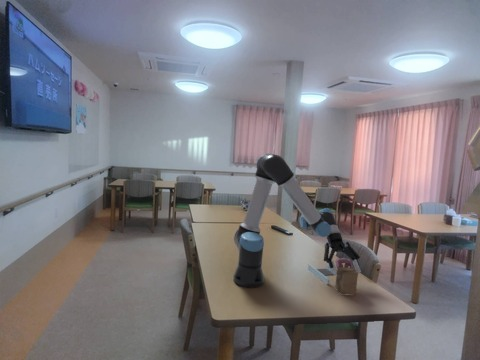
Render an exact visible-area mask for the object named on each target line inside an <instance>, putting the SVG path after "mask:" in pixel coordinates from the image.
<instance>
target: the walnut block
mask: <svg viewBox="0 0 480 360" xmlns="http://www.w3.org/2000/svg"><path fill="white" fill-rule="evenodd" d="M336 269H337V272H338V273H337V276H335V277H336V278H335V287H334V289H335V288H336V289H337V290H338V291H339V292H340V293H341V294H355V295H356V293H357V285H358V276H359V273H357V272H356V270H355V269H354V268H353V269H352V268H350V266H348V267H344V266H343V267H338V268H337V267H336ZM336 289H335V290H336ZM337 290H336V291H337ZM338 291H337V292H338ZM339 292H338V293H339ZM340 293H339V294H340ZM341 294H340V295H341Z"/></svg>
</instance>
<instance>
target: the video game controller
mask: <svg viewBox="0 0 480 360" xmlns="http://www.w3.org/2000/svg"><path fill="white" fill-rule="evenodd" d="M334 263H335V267H336V269H337V268H338V267H350V268H352V269H353V270H354V265H353V263H352V259H351V258H346V257H339V258H337V259H335V261H334Z"/></svg>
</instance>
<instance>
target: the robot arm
mask: <svg viewBox="0 0 480 360" xmlns="http://www.w3.org/2000/svg"><path fill="white" fill-rule="evenodd" d="M254 177H255V178H256V181H255V184H254V187H253V190H252V194H251V197H250V200H249V203H248V206H247V207H248V208H247V210H246V213H245V216H244V219H243V222H241V223H240V224H239V226H238V229H237V230H236V231H235V233H234V236H233V240H234V244H235V246H236V248H237V251H238V262H237V263H238V264H237V267H236V269H235V272H234V274H233V282H234V283H235V284H236V285H238V286H240V287H245V288H251V289H252V288H258V287H261V286H263V284H264V282H265V276H264V272H263V269H262V268H263V267H262V264H263V257H264V256H263V253H264V246H265V241H264V237H263V235H261V234H260V233H261V228H260V224H261V222H262V218H263V215H264V211H265V208H266V205H267V202H268V199H269V196H270V193H271V189H272V186H273V184H276V185H277V186H278V187H281V188H282V189H283V191H284V193H285V194H286V196H288V197H289V199H290V200H291V202H292V203H293V205H294V206H295V207H296V208H297V210H298V211H299V213H301V216H300V217H299V221H298V222H299V226H300V228H301V229H304V230H305V229H306V230H308V229H309V230H310V231H312V232H313V233H314V234H316V236H319V237H322V238H325V237H326V240H327V242H326V243H325V244H324V254H323V261H324V262H326V264H327V263H328V264H329V266H330V268H331V269H332V272H333V274H334V275H333V276H336V274H337V273H338V272H337V267H336V263H335V261H334V260H333V258H334V255H335V253H343V254H345V255H346V256H347V257H348V259H350V260H351V262H352V264H353V269H354V270H355V271H356V272H357V273H358V274H361V272H362V271H361V267H360V263H359V259H360V258H361V256H360V255H359V254H358V252H356V250H355V249H354V248H353V247H352V246H351V245H350V242H349V241H346V242H344V241H343V236H342V234H341V231H340V229H339V227H338V224H337V221H336V219H335V216H334V214H333V211H332V210H331V209H330V208H328V207H325V208H323V209H319V211H318V209H317V208H316V207H315V205H314V204H313V202H312V201H311V199H310V198H309V197H308V196H307V194H306V193H305V191H304V189H302V187H301V186H300V184H299V182H298V181H297V180H296V178H295V174H294V172H293V170H292V169H291V168H290V166H289V164H288V162H287V161H285V159H284V158H283V157H282V156H281V155H278V154H272V153H265V154H263V155H261V156H260V157H258V159H257V162H256V171H255V174H254ZM330 248H331V249H330ZM330 250H331V251H330ZM332 272H331V273H332Z"/></svg>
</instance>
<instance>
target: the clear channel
mask: <svg viewBox="0 0 480 360" xmlns="http://www.w3.org/2000/svg"><path fill="white" fill-rule="evenodd" d="M327 269H328V270H327ZM307 270H308V271H309V272H310V273H312V274H313V275H314V276H316V277H317V278H318V279H319V280H320V281H322V282H323V283H324V282H325V283H326V285H327V284H329V285H330V279H329V278H328V277H327V276H332V275H331V273H332V274H333V272H332V269H331V268H330V266H329V263H327V262H326V264H325V268H315V267H314V266H313V265H312V264H310V263H308V266H307ZM330 271H331V272H330ZM336 275H337V274H336ZM336 275H335V276H336ZM325 283H324V284H325Z"/></svg>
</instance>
